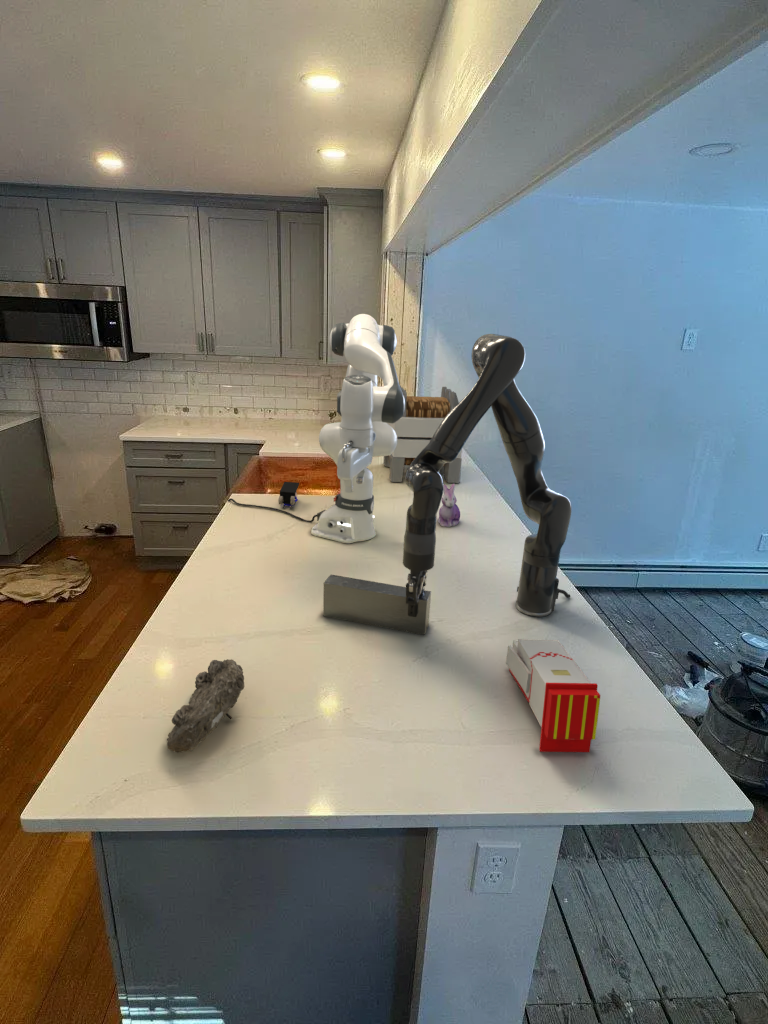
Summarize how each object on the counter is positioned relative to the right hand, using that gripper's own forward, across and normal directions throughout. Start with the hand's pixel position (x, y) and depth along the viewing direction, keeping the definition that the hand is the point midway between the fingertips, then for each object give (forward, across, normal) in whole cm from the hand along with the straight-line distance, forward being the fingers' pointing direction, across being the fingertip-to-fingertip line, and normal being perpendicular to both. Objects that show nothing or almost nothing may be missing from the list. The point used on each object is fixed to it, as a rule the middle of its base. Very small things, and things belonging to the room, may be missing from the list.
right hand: (415, 610), depth 140 cm
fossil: (+5, -45, +29) cm, 54 cm away
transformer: (+5, +139, +30) cm, 142 cm away
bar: (+5, 0, +10) cm, 11 cm away
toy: (+5, -20, -32) cm, 38 cm away
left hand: (-23, +20, +23) cm, 38 cm away
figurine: (+5, +76, +4) cm, 77 cm away
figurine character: (+5, +72, +67) cm, 99 cm away
